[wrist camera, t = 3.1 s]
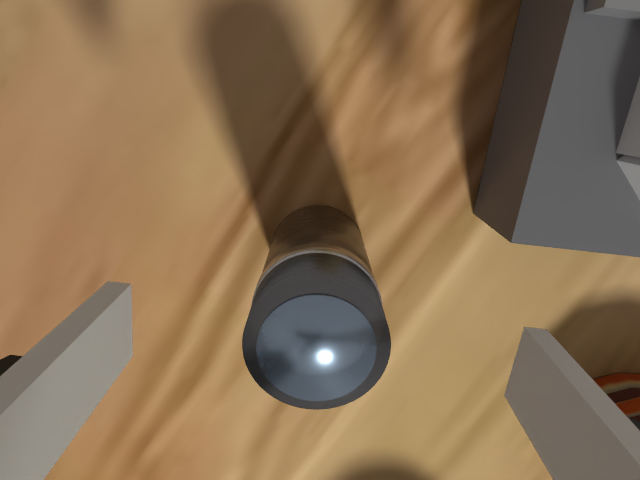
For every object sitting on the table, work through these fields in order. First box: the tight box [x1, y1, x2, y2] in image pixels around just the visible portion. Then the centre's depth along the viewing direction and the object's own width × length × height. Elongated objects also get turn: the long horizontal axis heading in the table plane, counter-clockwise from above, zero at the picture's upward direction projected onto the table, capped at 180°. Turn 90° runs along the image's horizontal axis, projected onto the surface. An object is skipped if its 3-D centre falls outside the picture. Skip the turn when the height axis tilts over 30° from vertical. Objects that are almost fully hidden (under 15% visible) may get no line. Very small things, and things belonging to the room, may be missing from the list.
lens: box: [242, 205, 391, 409], centre depth 20 cm, size 5×5×10 cm
